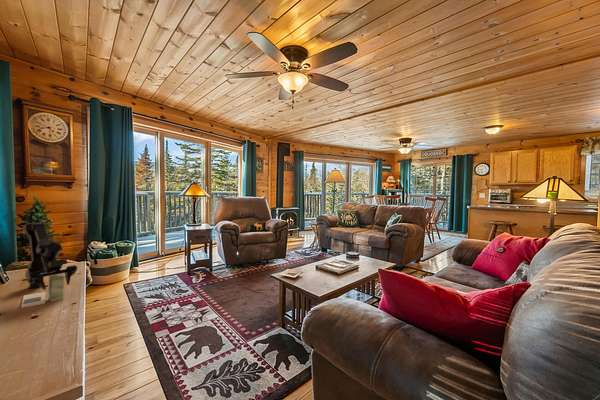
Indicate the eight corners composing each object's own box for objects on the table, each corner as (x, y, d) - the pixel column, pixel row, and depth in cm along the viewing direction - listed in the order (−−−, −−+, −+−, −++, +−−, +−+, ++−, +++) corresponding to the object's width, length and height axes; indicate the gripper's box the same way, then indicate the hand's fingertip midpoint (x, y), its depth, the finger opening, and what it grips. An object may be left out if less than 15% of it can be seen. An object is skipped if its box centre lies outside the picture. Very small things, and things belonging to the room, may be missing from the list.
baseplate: (23, 297, 131) (24, 295, 131) (45, 293, 136) (45, 291, 136) (21, 308, 119) (21, 305, 119) (44, 303, 125) (44, 300, 125)
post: (48, 299, 130) (49, 276, 130) (59, 296, 134) (60, 273, 134) (51, 301, 128) (52, 277, 128) (63, 298, 132) (63, 275, 131)
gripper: (29, 257, 125) (36, 283, 119) (76, 251, 141) (84, 273, 135) (24, 269, 128) (30, 295, 123) (70, 262, 145) (77, 284, 139)
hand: (57, 286), depth 130 cm, fingers open, 9 cm apart
